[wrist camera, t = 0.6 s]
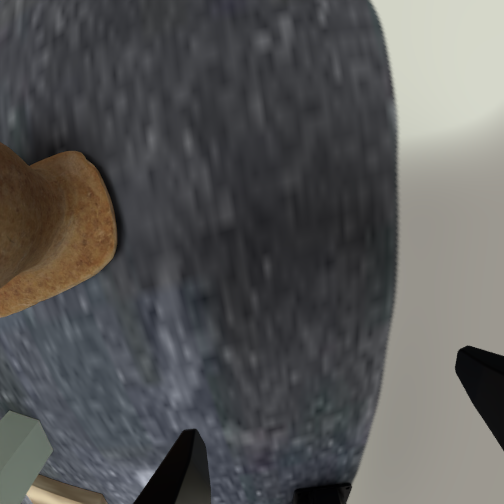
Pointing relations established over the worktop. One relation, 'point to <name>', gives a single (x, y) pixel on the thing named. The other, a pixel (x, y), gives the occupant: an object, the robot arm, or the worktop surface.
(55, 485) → the birch base
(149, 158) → the worktop surface
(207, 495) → the robot arm
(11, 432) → the sage block
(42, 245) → the stone cup
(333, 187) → the worktop surface
